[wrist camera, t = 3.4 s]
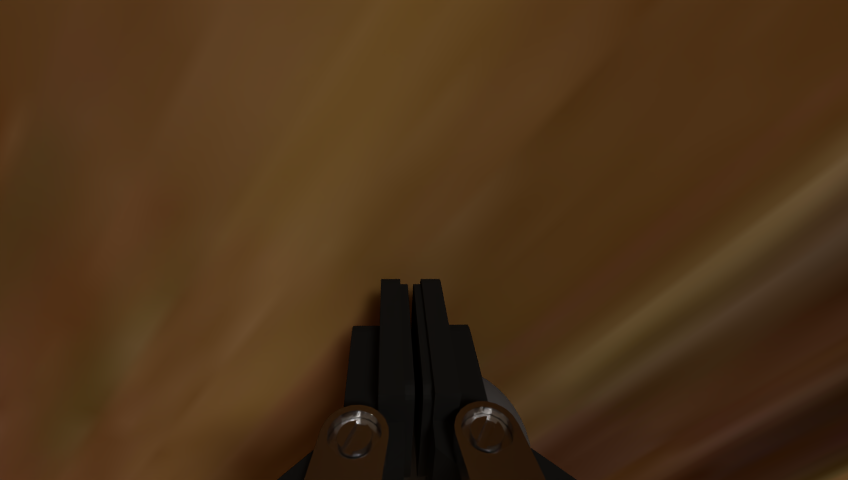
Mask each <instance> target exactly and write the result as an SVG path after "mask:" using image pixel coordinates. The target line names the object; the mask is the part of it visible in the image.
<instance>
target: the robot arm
mask: <svg viewBox="0 0 848 480" xmlns="http://www.w3.org/2000/svg"><path fill="white" fill-rule="evenodd" d="M413 424H414V438H415V454H416V470H417V477H425V480H576V479H575V478H573V477H572V476H570V475H569V474H567V473H566V472H565V471H563V470H562V469H560V468H559V467H557V466H556V465H555V464H553V463H552V462H550V461H549V460H547V459H546V458H545V457H543V456H542V455H540V454H539V453H537V452H536V451H534V450H533V449H532V448H530V446H529V444H528V442H527V440H526V438H525V436H524V434H523V432H522V430H521V427H520V425H519V423H518V422H517V420H516V419H515V417H514V416H513V415H512V414H511V413H510V412H509V411H508V410H507V409H505V408H504V407H502V406H500V405H498V404H496V403H492V402H488V399H487V395H486V391H485V387H484V383H483V380H482V376H481V372H480V368H479V364H478V360H477V356H476V352H475V348H474V344H473V340H472V336H471V332H470V329H469V326H468V325H449V323H448V318H447V313H446V308H445V302H444V297H443V292H442V287H441V282H440V279H421V281H420V284H413V300H412V321H411V324H410V310H409V296H408V284H400V279H381V306H380V326H353V329H352V337H351V346H350V355H349V364H348V373H347V382H346V391H345V400H344V407H343V408H341V409H339V410H337V411H336V412H334V413H332V414H331V415H330V416H329V418H328V419H327V420H326V421H325V422H324V424H323V426H322V428H321V430H320V433H319V436H318V439H317V442H316V445H315V448H314V450H313V451H312V452H310V453H309V454H308V455H307V456H305V457H304V458H303V459H302V460H301V461H299V462H298V463H297V464H296V465H295V466H293V467H292V468H291V469H290V470H288V471H287V472H286V473H285V474H284V475H282V476H281V477H280V478H279V479H278V480H404V478H410V475H411V458H412V441H413Z"/></svg>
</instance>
